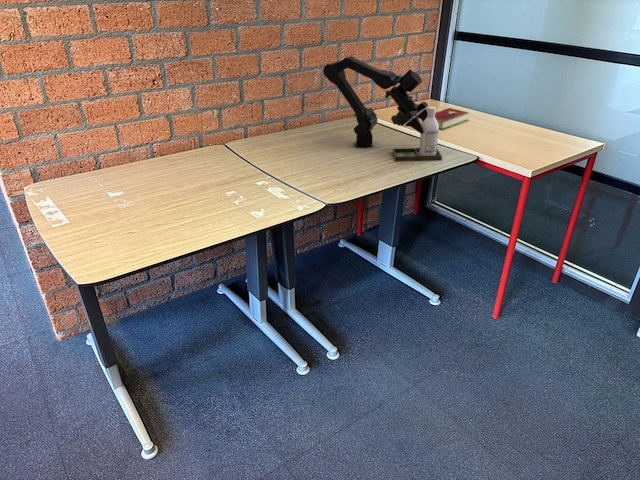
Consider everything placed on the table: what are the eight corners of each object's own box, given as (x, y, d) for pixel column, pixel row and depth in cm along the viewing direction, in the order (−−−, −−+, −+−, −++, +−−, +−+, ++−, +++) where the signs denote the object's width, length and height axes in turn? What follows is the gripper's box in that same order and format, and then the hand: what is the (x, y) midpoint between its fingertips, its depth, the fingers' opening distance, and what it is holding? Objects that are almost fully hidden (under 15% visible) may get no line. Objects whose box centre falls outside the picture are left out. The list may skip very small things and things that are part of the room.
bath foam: (439, 156, 201) (444, 107, 191) (428, 160, 197) (433, 111, 187) (426, 151, 206) (430, 104, 195) (415, 155, 202) (419, 107, 192)
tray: (395, 161, 197) (396, 156, 196) (392, 152, 205) (392, 148, 204) (441, 159, 197) (441, 155, 196) (436, 151, 205) (436, 147, 205)
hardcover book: (422, 124, 237) (423, 115, 235) (448, 115, 249) (448, 107, 247) (442, 130, 229) (443, 121, 227) (468, 120, 241) (469, 111, 239)
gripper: (397, 106, 208) (420, 134, 209) (379, 117, 194) (404, 148, 195) (416, 89, 200) (439, 119, 201) (399, 100, 187) (424, 132, 187)
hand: (426, 129), depth 196 cm, fingers open, 9 cm apart
